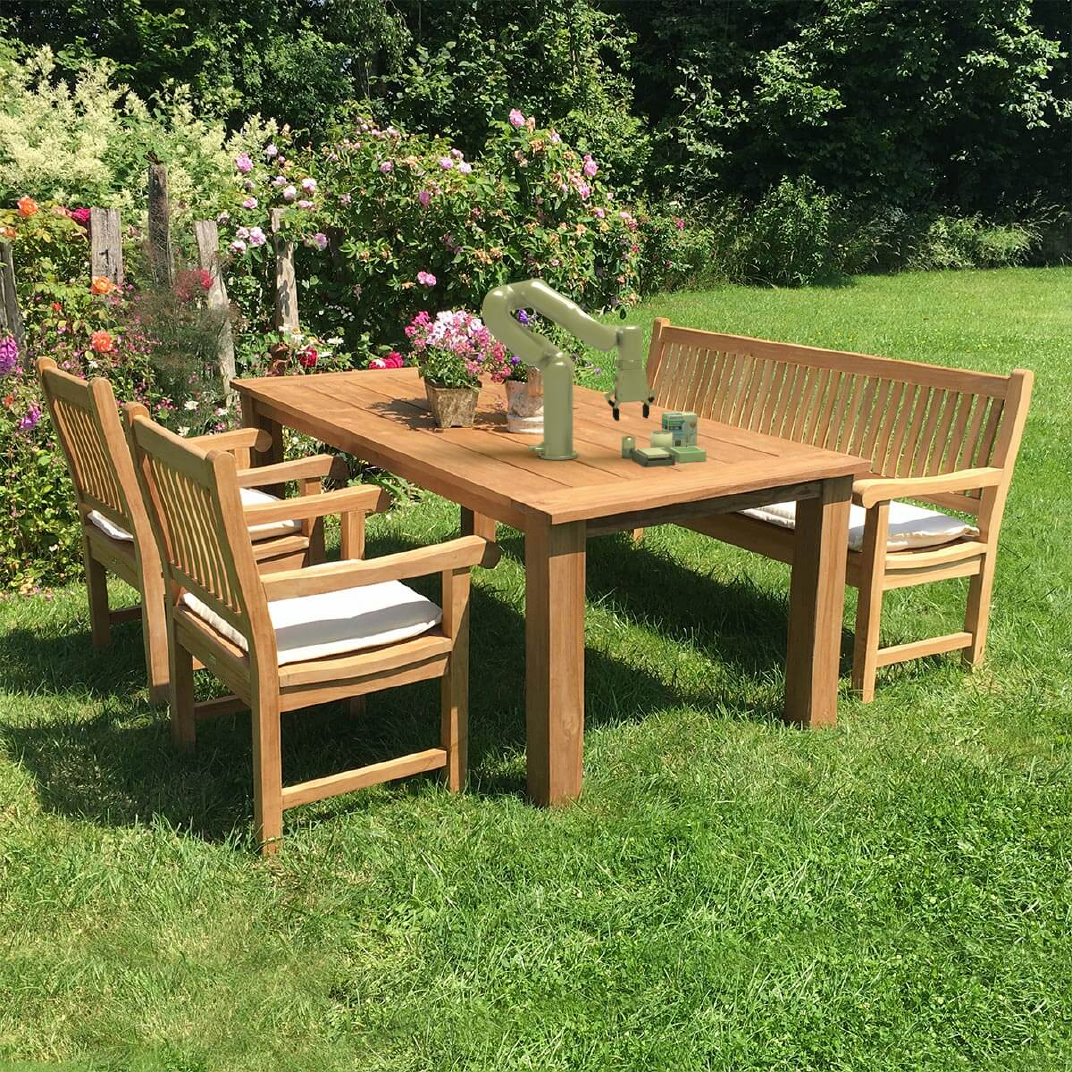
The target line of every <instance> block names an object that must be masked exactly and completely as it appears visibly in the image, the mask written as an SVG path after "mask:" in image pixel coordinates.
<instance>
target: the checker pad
mask: <svg viewBox="0 0 1072 1072" xmlns="http://www.w3.org/2000/svg"><path fill="white" fill-rule="evenodd" d="M636 450H637V451H639V452H640V453H642V454H644V455H646V456H647V457H648V458H660V457H669V453H667V452H665V451H663V450H662V449H660V448H650V447H647V448H636Z"/></svg>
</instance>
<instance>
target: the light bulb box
mask: <svg viewBox="0 0 1072 1072" xmlns="http://www.w3.org/2000/svg"><path fill="white" fill-rule="evenodd" d="M698 417H699V416H698V414H697V413H694V411H675V412H674V411H672V412H662V413H661V431H670V432H672V433H673V434H672V448H673V447H686V446H687V447H688V446H696V447H697V439H698V420H699V419H698Z"/></svg>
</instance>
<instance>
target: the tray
mask: <svg viewBox="0 0 1072 1072" xmlns="http://www.w3.org/2000/svg"><path fill="white" fill-rule="evenodd" d="M669 452H670V453H672V454H674V455H675V462H677V463H679V464H683V462H686V463H698V462H697V461H701V462H706V461H707V450H704V449H702V448H700V447H698V446H697V445H696V446H687V447H672V448H669Z"/></svg>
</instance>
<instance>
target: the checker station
mask: <svg viewBox="0 0 1072 1072" xmlns="http://www.w3.org/2000/svg"><path fill="white" fill-rule="evenodd" d="M658 448H660V449H662V450H663V451H665V452H667V453H669V457H660V458H648V457H647V456H646V455H644V454H642V453H640V452H639V451H637V449H636V448H635V449H632V455H631V459H630V460H632V461H633V462H635V463H637V464H639V465H640V466H642V467H644V468H650V467H651V468H653V467H665V466H667V467H668V466H675V465H676V461H675V455H674V454H672V453H670V452H669V451H667V450H665V448H664V447H658Z"/></svg>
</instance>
